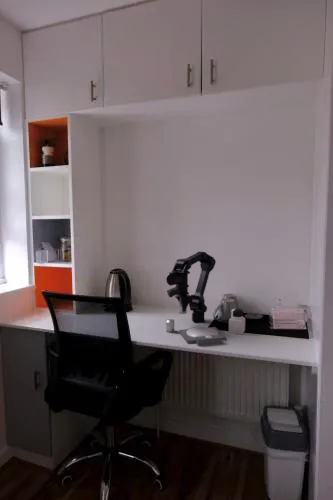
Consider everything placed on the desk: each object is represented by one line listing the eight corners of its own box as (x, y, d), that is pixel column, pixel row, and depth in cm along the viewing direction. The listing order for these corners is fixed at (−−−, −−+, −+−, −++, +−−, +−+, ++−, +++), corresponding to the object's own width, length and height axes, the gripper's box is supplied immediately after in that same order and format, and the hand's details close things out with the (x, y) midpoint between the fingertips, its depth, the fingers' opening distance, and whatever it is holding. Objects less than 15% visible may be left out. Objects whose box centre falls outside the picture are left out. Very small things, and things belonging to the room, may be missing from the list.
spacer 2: (185, 311, 180) (185, 300, 180) (187, 313, 176) (187, 302, 176) (177, 312, 179) (177, 301, 179) (179, 314, 175) (179, 303, 175)
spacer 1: (173, 329, 176) (173, 318, 175) (175, 332, 171) (175, 321, 171) (165, 330, 175) (165, 319, 174) (167, 333, 170) (167, 321, 170)
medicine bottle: (245, 330, 173) (245, 308, 172) (242, 334, 167) (242, 311, 166) (231, 328, 176) (232, 307, 175) (228, 332, 170) (228, 310, 169)
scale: (214, 329, 175) (214, 323, 175) (230, 342, 156) (230, 336, 156) (179, 332, 171) (179, 326, 171) (190, 346, 152) (190, 339, 151)
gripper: (164, 280, 184) (164, 307, 185) (172, 286, 166) (172, 316, 167) (183, 279, 186) (183, 306, 187) (193, 285, 168) (193, 315, 169)
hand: (182, 310), depth 178 cm, fingers closed on spacer 2, 4 cm apart
